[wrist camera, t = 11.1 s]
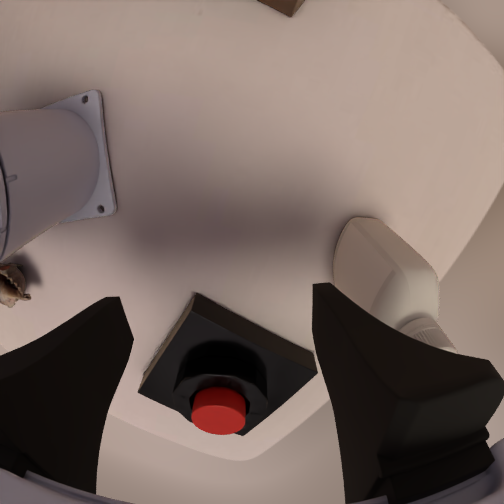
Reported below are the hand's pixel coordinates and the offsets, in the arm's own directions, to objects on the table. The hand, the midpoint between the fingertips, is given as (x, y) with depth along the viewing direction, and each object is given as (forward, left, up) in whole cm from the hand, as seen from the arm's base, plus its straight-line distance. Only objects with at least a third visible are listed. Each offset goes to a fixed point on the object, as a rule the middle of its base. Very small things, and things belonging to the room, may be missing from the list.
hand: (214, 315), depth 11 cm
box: (-2, -11, -8) cm, 14 cm away
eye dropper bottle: (+8, -2, -9) cm, 12 cm away
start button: (-2, -11, -5) cm, 12 cm away
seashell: (-19, -1, -9) cm, 21 cm away
